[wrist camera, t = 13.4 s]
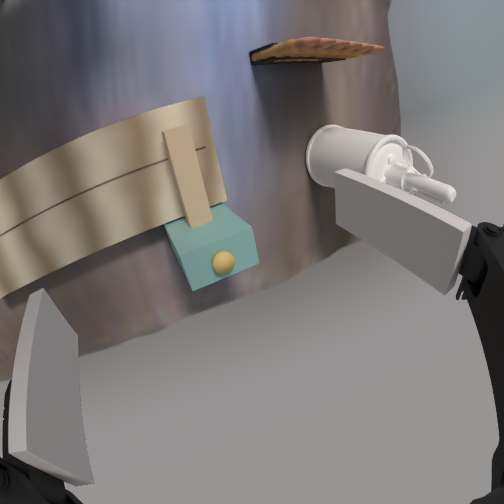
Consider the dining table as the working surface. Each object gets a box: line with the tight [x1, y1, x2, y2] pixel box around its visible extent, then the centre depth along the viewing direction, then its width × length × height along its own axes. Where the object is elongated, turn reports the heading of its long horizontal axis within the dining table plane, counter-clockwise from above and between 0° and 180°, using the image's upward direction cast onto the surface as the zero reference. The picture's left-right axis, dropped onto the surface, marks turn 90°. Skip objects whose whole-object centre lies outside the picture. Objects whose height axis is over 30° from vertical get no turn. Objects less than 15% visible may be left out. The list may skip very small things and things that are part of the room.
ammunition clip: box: [249, 37, 385, 65], centre depth 24 cm, size 11×2×12 cm, turn 101°
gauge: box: [161, 124, 259, 291], centre depth 27 cm, size 7×14×11 cm, turn 13°
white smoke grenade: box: [306, 125, 456, 204], centre depth 31 cm, size 10×9×20 cm
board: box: [0, 96, 227, 298], centre depth 25 cm, size 32×12×2 cm, turn 103°
